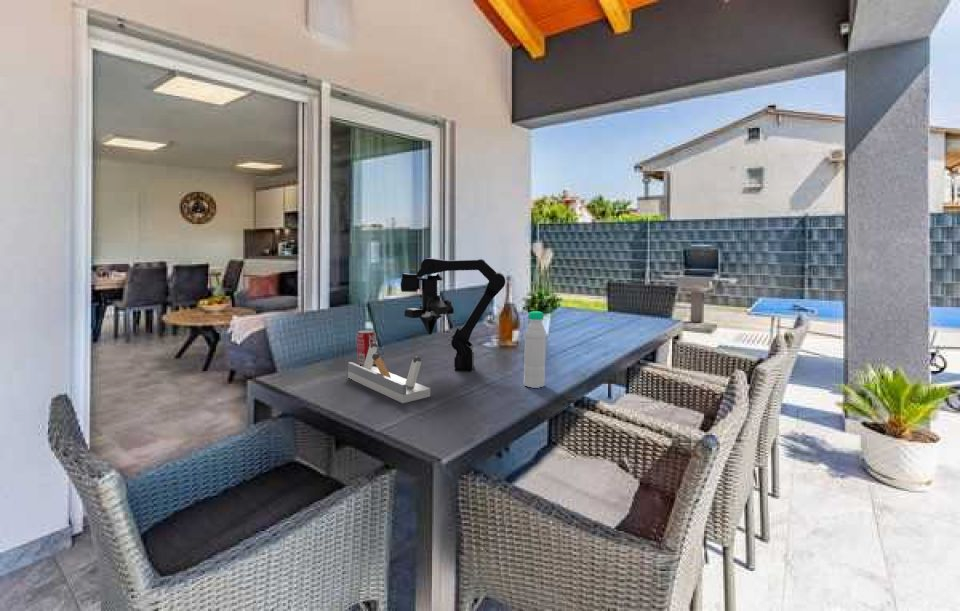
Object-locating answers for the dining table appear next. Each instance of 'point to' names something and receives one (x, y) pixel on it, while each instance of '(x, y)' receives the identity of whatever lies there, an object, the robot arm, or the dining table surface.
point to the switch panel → (387, 383)
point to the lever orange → (380, 365)
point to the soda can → (364, 344)
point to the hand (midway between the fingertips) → (429, 334)
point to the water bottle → (535, 351)
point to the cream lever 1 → (370, 355)
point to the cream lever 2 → (413, 372)
